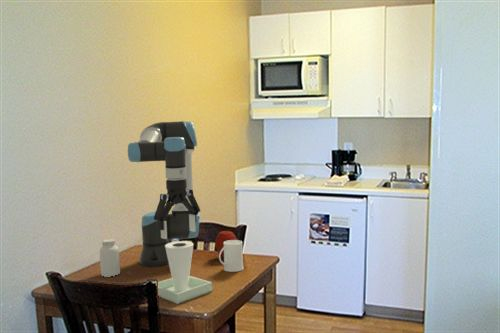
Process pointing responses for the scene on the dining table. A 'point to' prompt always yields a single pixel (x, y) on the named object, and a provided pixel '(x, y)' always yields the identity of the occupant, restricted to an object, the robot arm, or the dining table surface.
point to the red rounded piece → (223, 240)
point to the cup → (180, 263)
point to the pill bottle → (109, 258)
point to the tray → (194, 290)
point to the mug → (232, 256)
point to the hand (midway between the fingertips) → (178, 234)
